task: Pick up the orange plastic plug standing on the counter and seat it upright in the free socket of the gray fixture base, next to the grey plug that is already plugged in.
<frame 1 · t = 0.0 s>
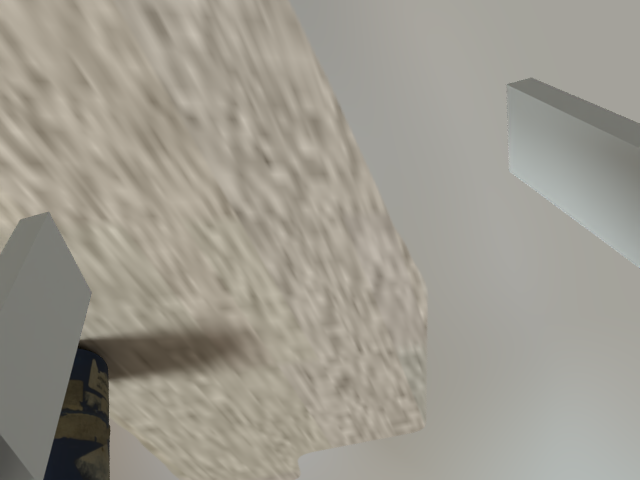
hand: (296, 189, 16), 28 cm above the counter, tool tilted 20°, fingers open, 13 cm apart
canister: (65, 362, 65), on the counter
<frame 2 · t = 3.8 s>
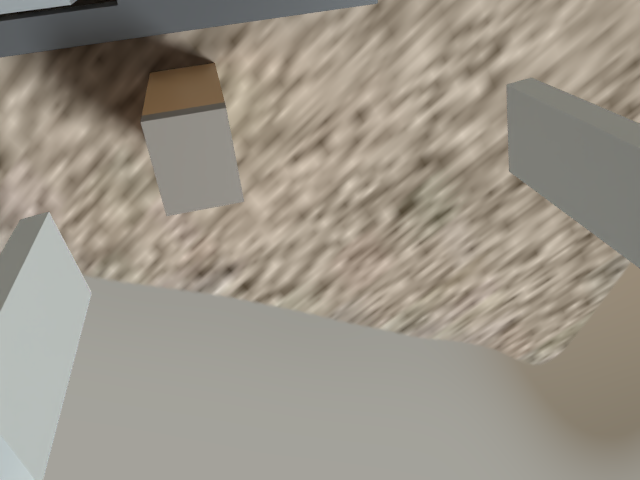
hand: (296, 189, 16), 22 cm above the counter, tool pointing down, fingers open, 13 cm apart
plug: (191, 106, 36), on the counter
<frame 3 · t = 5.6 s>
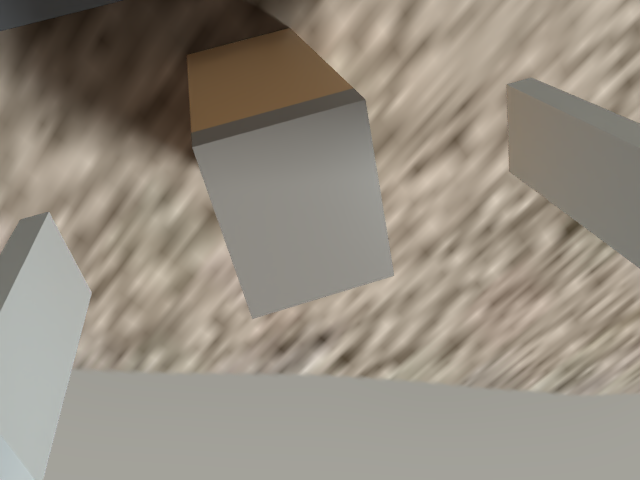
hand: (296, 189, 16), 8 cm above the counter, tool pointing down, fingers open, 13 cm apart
plug: (256, 104, 22), on the counter
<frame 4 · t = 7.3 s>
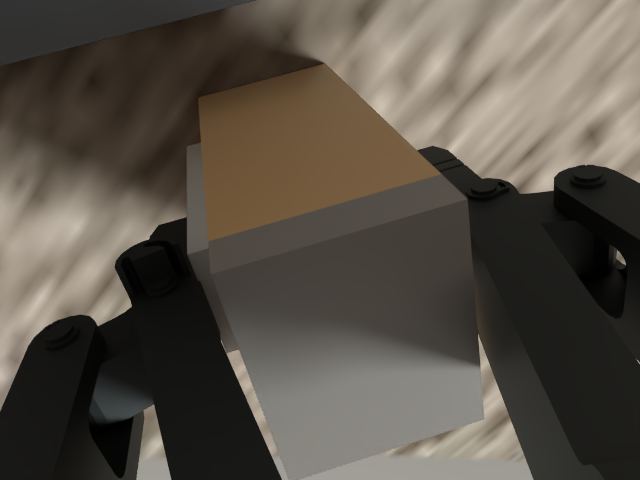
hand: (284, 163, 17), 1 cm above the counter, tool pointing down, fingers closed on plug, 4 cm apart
plug: (281, 155, 18), on the counter, touching gripper
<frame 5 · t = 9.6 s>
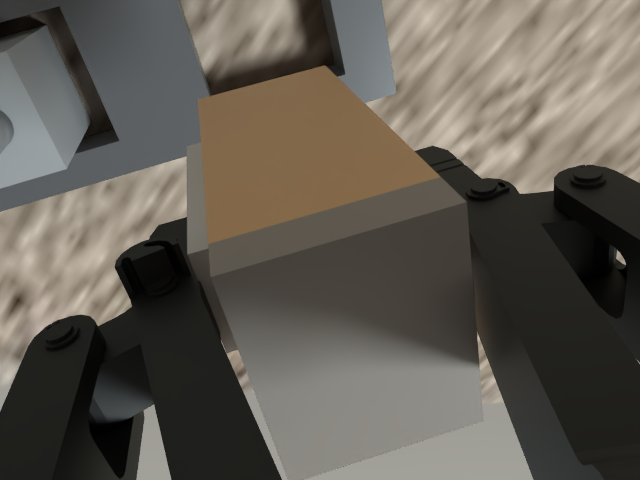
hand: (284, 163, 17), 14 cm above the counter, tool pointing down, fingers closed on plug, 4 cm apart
plug: (281, 157, 18), point 14 cm above the counter, touching gripper
gray fixture base: (145, 53, 28), on the counter
when the fingers open (3 cm above the counter, at t = 12.2 s): plug drops 2 cm, resting in gray fixture base.
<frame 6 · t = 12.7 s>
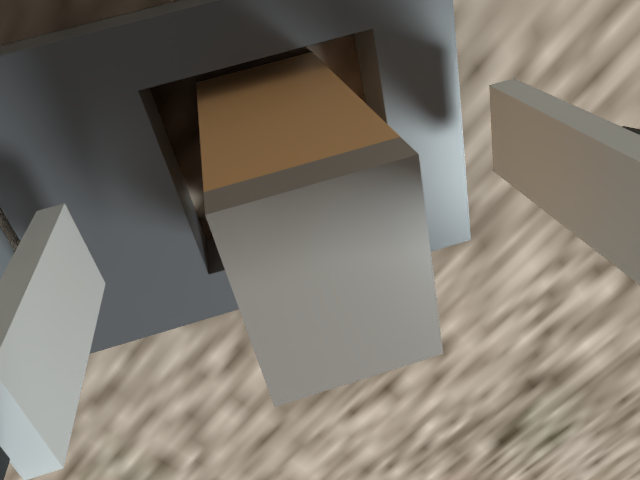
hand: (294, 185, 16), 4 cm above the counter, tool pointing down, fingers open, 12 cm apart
plug: (272, 136, 20), resting in gray fixture base
gray fixture base: (107, 182, 19), on the counter
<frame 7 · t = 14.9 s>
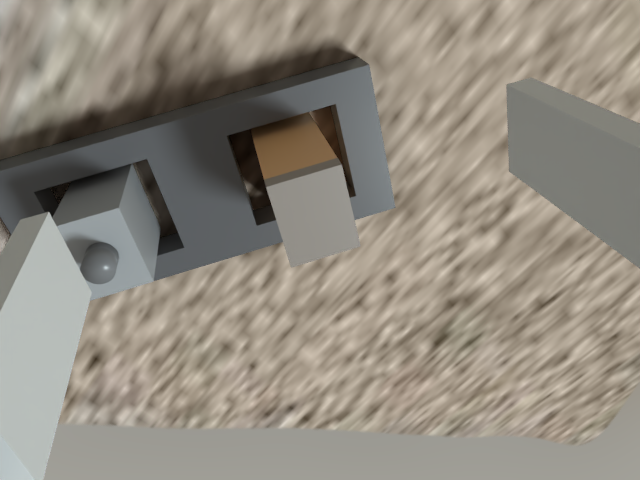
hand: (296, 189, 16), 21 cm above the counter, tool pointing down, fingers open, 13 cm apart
plug: (288, 154, 38), resting in gray fixture base
gray fixture base: (204, 179, 37), on the counter
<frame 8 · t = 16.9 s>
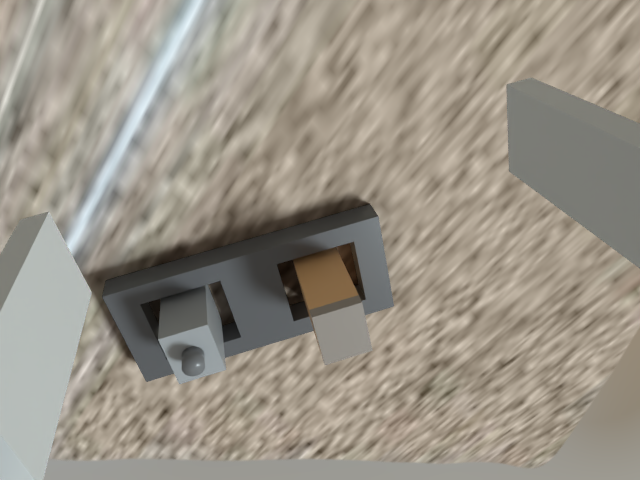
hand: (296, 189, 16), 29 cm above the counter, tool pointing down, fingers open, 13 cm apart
plug: (317, 268, 52), resting in gray fixture base
gray fixture base: (255, 286, 51), on the counter
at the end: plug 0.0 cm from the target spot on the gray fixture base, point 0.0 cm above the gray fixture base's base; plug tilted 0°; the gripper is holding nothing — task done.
